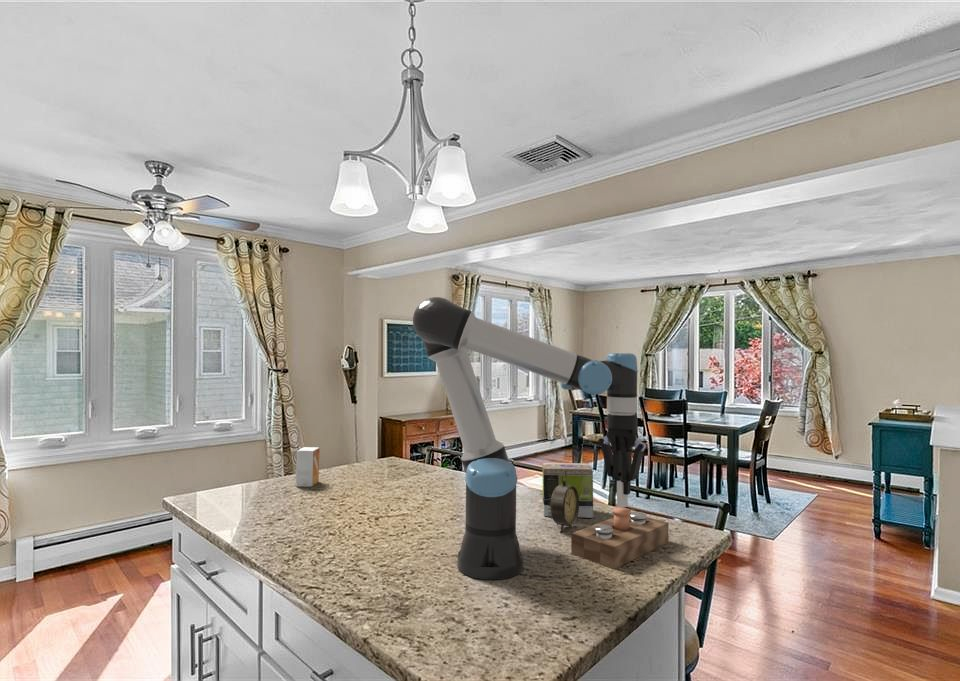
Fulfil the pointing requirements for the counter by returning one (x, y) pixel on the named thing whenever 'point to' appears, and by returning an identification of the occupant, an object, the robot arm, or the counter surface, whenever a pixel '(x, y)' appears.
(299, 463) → the small box
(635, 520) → the grey plug far
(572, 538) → the walnut block
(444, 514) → the counter surface
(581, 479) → the tea box
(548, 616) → the counter surface
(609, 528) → the grey plug near
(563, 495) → the alarm clock
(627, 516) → the terracotta plug
